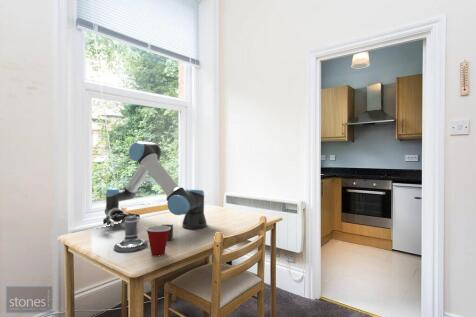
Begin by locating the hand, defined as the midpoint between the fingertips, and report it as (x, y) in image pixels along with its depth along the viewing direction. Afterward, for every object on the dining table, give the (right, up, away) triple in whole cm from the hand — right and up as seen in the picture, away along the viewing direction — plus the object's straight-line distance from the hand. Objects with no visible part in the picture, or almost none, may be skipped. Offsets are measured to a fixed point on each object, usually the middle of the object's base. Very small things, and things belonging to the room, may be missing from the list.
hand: (126, 221), depth 146 cm
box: (+26, -7, -10) cm, 28 cm away
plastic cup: (+27, -7, -29) cm, 41 cm away
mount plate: (+12, -7, -21) cm, 25 cm away
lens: (+6, -7, -7) cm, 11 cm away
